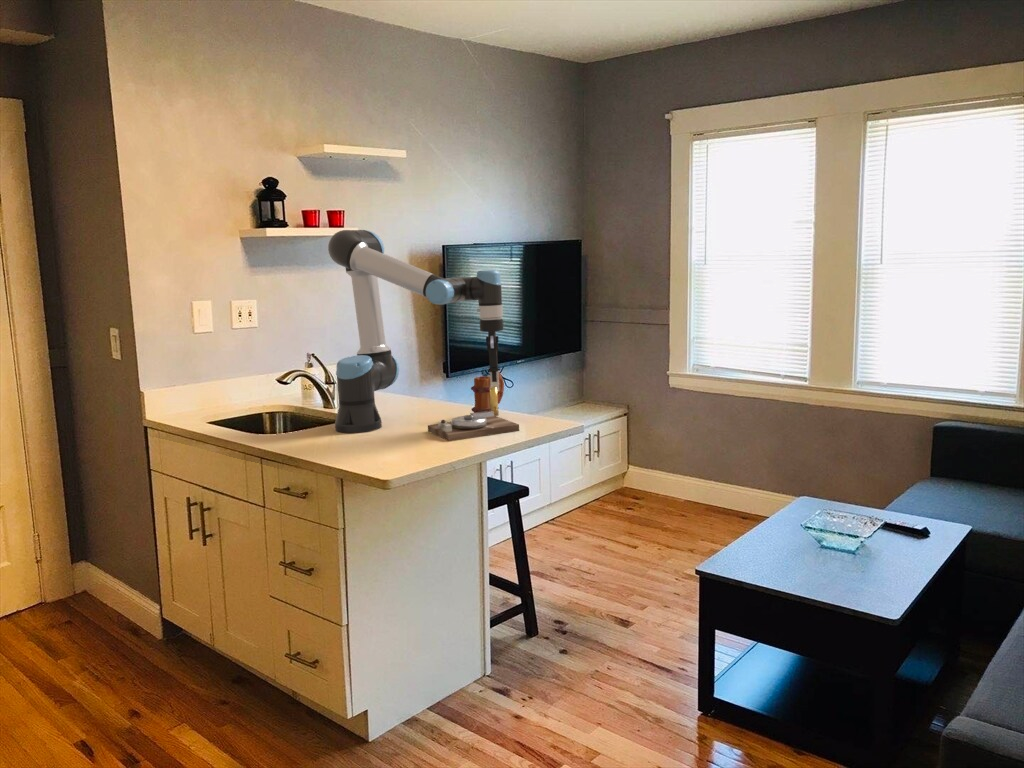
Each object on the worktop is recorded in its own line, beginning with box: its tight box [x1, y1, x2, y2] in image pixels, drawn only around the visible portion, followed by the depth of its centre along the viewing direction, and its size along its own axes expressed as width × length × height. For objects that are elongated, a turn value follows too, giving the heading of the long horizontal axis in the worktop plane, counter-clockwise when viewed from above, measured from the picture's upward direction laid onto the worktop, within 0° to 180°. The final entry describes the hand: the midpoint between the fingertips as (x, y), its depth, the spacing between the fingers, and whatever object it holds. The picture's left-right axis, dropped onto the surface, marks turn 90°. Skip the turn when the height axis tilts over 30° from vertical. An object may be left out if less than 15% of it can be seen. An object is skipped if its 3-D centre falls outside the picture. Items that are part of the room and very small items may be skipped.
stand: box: [427, 416, 520, 442], centre depth 262 cm, size 17×24×5 cm
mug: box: [470, 371, 505, 413], centre depth 282 cm, size 15×8×15 cm, turn 143°
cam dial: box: [450, 387, 500, 429], centre depth 260 cm, size 16×11×11 cm
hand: (495, 391), depth 268 cm, fingers closed
